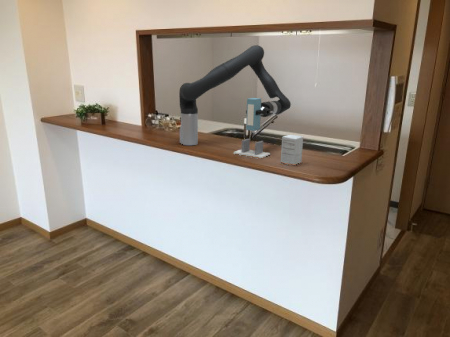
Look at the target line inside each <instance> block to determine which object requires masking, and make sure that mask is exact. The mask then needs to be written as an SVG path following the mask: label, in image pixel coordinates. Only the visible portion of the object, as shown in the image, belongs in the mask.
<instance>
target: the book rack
mask: <svg viewBox="0 0 450 337" xmlns="http://www.w3.org/2000/svg"><path fill="white" fill-rule="evenodd" d="M250 143H251V139H250V138H246V139H243V140H241V149H238V150H236V151H235V150H234V151H233V154H234V155H235V154H239V155H238V156H241V155H246V156H245V157H247V156H253V157H259V158H263V157H266V156H268V155H270V156H271V152H265V151H264V140H259V141H257V142H255V143H254V149H250V148H251V147H250ZM268 157H269V156H268ZM266 158H267V157H266Z"/></svg>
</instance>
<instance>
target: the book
mask: <svg viewBox="0 0 450 337" xmlns="http://www.w3.org/2000/svg"><path fill="white" fill-rule="evenodd" d="M261 103H262V98H259V97H249V98H246V110H247V114H246V121H245V122H246V123H245V125H246V126H245V130H246V131H250V132H251V131H252V132H255V131H258V130H261V119H262V118H261V115H256V111H257V110H261Z"/></svg>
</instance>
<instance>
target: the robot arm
mask: <svg viewBox="0 0 450 337" xmlns="http://www.w3.org/2000/svg"><path fill="white" fill-rule="evenodd" d="M264 56H265V50H264V48H263V47H262V46H261V45H257V44H256V45H251V46H250V47H248V48H247V49H246V50H244V51H243V52H242V53H240V54H239V55H237V56H235V57H232V58H231V59H229V60H226V61H225V62H223V63H221V64H219V65H218V66H215V67H214V68H212V69H211V70H210V71H209V72H207V74H206V75H205V76H203V77H201V78H200V79H197V80H196V81H193V82H185V83H184V82H183V84H181V85H180V88H179V107H180V108H179V109H180V126H179V144H180V143H181V145H182V144H183V146H195V145H198V144H199V136H198V135H199V127H198V124H199V122H198V121H199V119H198V118H199V116H198V114H199V111H198V109H199V108H198V106H197V99H199V98H200V97H201V96H203V95H204V94H206V92H208V91H211V90H212V89H214V88H216V87H218V86H220V85H222V84H225V82H228V81H229V80H231V79H233V78H234V77H236V75H238V74H239V73H240V72H241V71H242V70H244V69H245V68H246V67H248V66H249V67H250V68H251V70H252V71H253V73H254V74H255V75H256V76H257V78H258V79H259V81H260V83H261V85H262V87H263V88H264V90H265V92H266V94H267V96H268V97H269V99H275V98H278V100H272V101H270V100H268V101H264V102H261V110H257V111H256V115H261V117H262V118H267V117H271V116H273V115H277V116H278V115H280V114H282V113H284V112H286V111H287V110H289V109H290V108H291V105H292V104H291V101H290V99H289V98H288V97H287V96H286V95H285V94H284V92H282V91H281V89H280V87H279V85H278V84H277V82H276V80H275V79H274V78H273V76H272V75H271V74H270V73H269V72H268V71H267V70H266V67H265V66H264V63H263V58H264ZM245 114H246V115H247V109H246V110H245Z"/></svg>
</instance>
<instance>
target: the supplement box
mask: <svg viewBox="0 0 450 337" xmlns="http://www.w3.org/2000/svg"><path fill="white" fill-rule="evenodd" d="M303 144H304V136H302V135H297V134H296V135H295V134H288V135H284V136H282V137H281V147H280V148H281V152H280V153H281V154H280V163H281V162H284V163H289V164H297V163H299V164H301V163H302V159H303V146H304V145H303ZM300 162H301V163H300ZM297 165H298V164H297Z"/></svg>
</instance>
